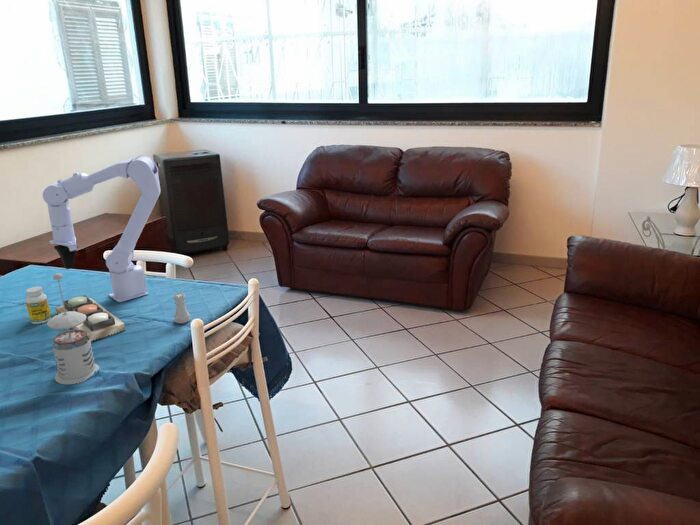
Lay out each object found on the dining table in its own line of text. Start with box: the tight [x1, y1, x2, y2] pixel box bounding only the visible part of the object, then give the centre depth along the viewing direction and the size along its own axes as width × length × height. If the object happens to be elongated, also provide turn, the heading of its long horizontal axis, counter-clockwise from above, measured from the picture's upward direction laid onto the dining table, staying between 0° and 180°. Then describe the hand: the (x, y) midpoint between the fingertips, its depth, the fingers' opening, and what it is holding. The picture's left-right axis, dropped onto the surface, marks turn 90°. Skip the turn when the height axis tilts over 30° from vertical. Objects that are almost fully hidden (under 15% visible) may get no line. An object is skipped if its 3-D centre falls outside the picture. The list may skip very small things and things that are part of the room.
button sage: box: [67, 296, 87, 307], centre depth 166 cm, size 5×5×2 cm
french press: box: [46, 272, 100, 385], centre depth 131 cm, size 10×12×25 cm
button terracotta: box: [77, 304, 98, 314], centre depth 160 cm, size 5×5×2 cm
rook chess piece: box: [173, 292, 191, 325], centre depth 159 cm, size 4×4×8 cm
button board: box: [55, 295, 126, 343], centre depth 161 cm, size 10×25×4 cm, turn 43°
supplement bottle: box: [25, 286, 52, 325], centre depth 161 cm, size 5×5×10 cm
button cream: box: [88, 313, 109, 324], centre depth 155 cm, size 5×5×2 cm
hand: (69, 268), depth 173 cm, fingers closed
